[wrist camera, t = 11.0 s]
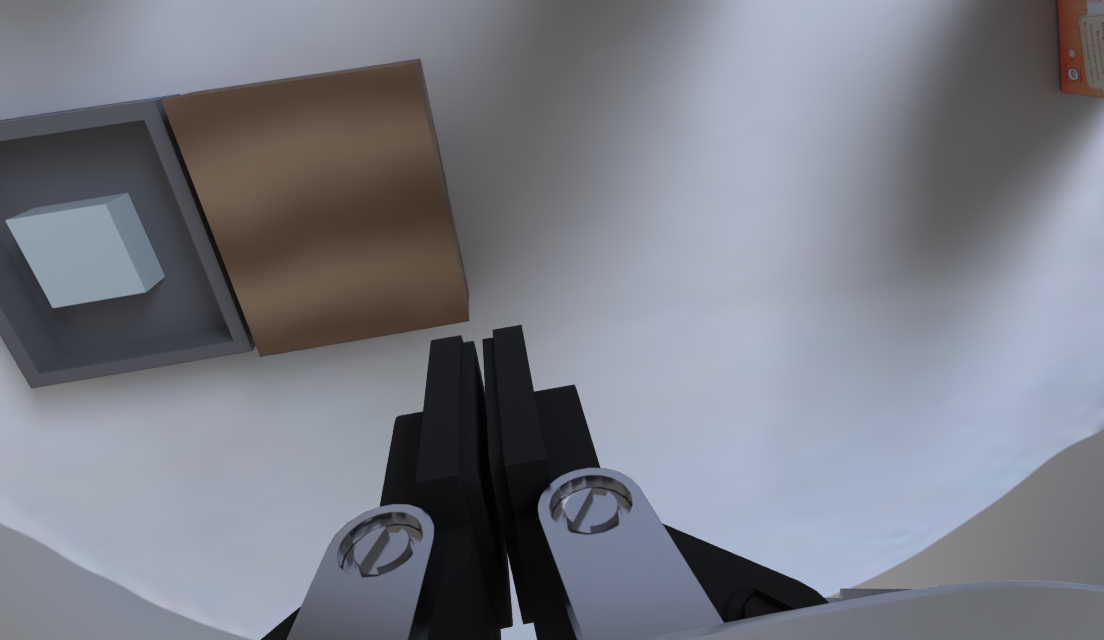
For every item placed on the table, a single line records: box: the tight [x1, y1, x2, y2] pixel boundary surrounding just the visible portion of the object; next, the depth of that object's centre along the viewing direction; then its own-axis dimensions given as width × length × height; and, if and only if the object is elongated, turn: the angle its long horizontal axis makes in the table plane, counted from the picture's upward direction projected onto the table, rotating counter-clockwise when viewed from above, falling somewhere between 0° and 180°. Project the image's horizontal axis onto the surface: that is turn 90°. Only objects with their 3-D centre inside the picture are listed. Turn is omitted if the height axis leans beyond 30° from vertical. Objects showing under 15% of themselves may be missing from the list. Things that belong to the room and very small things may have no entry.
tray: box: [0, 94, 256, 388], centre depth 34 cm, size 14×12×3 cm
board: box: [161, 59, 469, 357], centre depth 35 cm, size 14×12×4 cm
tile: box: [5, 193, 165, 308], centre depth 34 cm, size 5×5×2 cm
